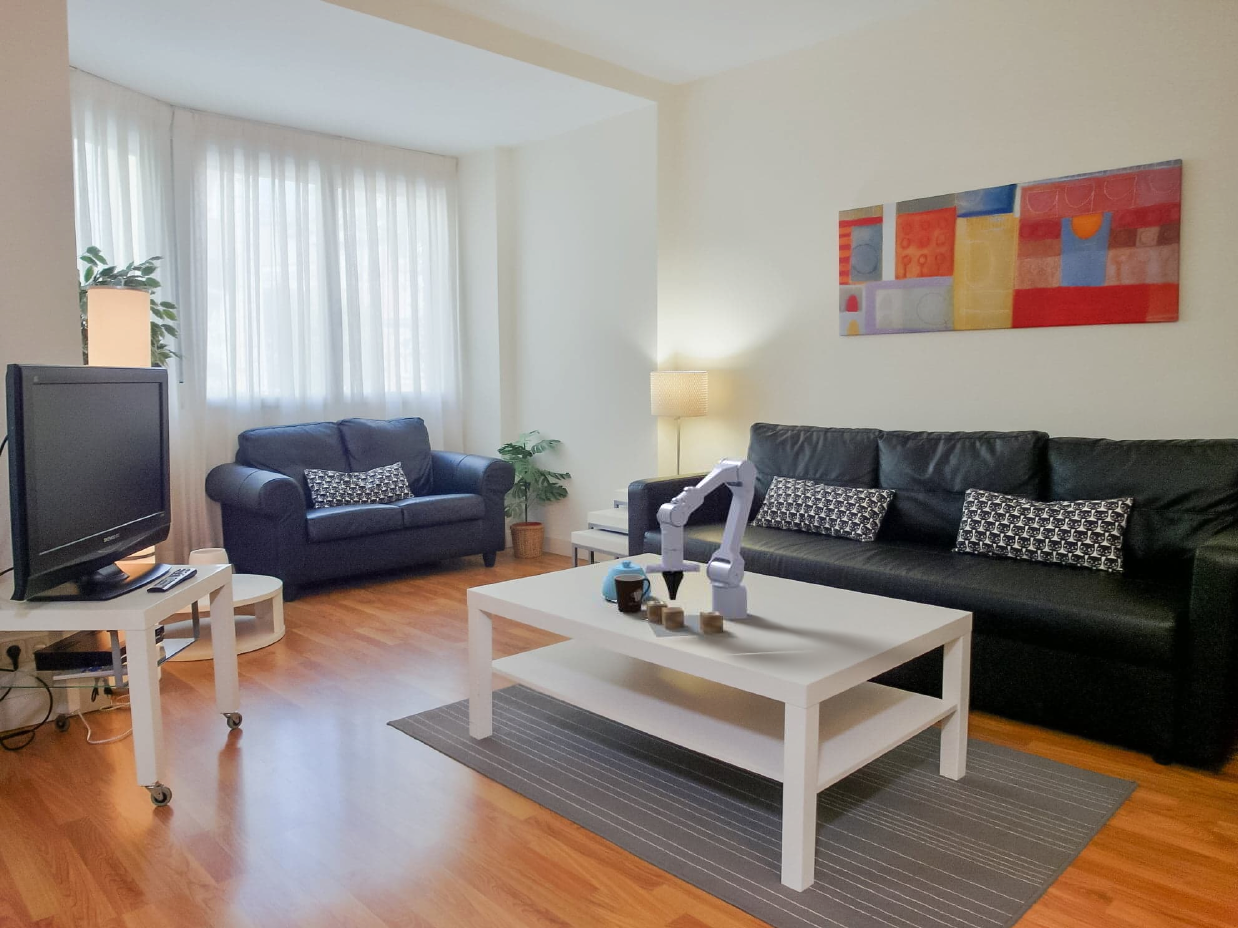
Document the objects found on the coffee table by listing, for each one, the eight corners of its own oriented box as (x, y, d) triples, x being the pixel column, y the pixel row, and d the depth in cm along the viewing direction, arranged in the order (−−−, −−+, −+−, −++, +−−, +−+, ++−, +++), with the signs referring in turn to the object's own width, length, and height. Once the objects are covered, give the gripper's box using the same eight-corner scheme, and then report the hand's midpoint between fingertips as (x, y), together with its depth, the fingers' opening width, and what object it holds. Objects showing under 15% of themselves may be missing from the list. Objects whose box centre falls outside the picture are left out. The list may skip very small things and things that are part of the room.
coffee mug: (619, 616, 248) (618, 581, 248) (611, 609, 257) (610, 575, 256) (658, 613, 252) (658, 578, 251) (649, 606, 260) (649, 572, 259)
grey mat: (708, 615, 248) (707, 614, 248) (725, 634, 228) (725, 633, 228) (644, 618, 246) (644, 617, 246) (656, 638, 226) (656, 636, 226)
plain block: (680, 623, 239) (680, 606, 239) (683, 627, 234) (683, 611, 234) (661, 623, 238) (661, 607, 238) (665, 628, 233) (665, 612, 233)
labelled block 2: (718, 627, 234) (718, 610, 233) (723, 633, 229) (723, 614, 228) (700, 628, 233) (699, 610, 233) (704, 633, 228) (704, 615, 228)
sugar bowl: (652, 592, 278) (652, 556, 277) (649, 604, 263) (649, 565, 262) (605, 592, 279) (604, 556, 278) (599, 603, 264) (598, 565, 263)
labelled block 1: (664, 616, 246) (664, 599, 246) (667, 621, 241) (667, 603, 241) (646, 617, 245) (646, 600, 245) (649, 622, 240) (649, 604, 240)
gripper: (647, 552, 230) (648, 603, 231) (702, 550, 232) (702, 601, 233) (643, 547, 237) (643, 597, 238) (696, 545, 238) (696, 595, 240)
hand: (672, 599), depth 236 cm, fingers closed
